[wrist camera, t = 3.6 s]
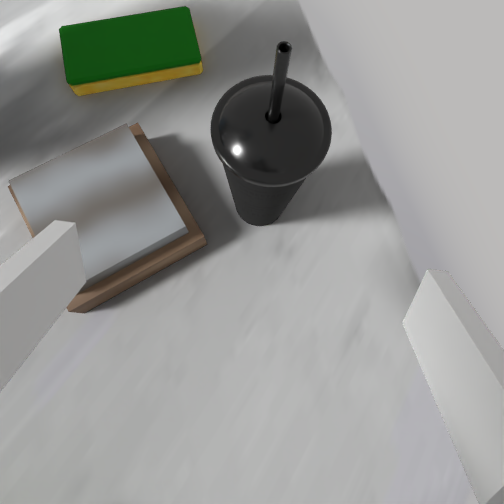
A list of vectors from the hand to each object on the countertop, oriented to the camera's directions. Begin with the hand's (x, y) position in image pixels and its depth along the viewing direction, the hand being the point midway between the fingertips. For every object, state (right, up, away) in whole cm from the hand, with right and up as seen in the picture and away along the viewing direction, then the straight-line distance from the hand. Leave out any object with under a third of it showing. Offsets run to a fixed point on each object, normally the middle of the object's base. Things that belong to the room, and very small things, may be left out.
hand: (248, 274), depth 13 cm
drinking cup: (+1, +6, +22) cm, 23 cm away
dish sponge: (-13, +22, +26) cm, 36 cm away
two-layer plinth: (-13, +4, +21) cm, 25 cm away
